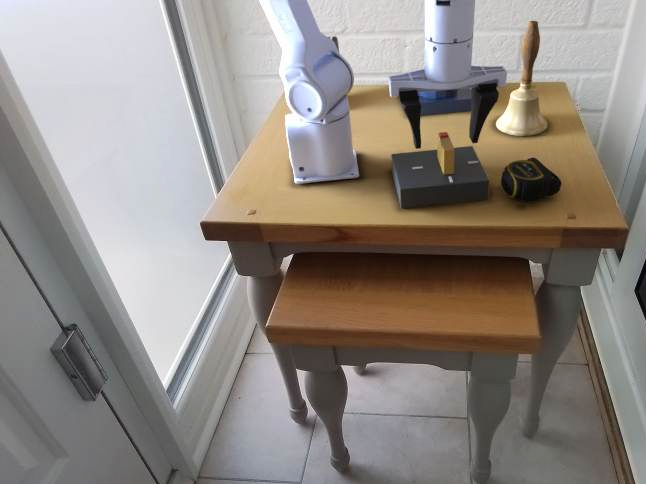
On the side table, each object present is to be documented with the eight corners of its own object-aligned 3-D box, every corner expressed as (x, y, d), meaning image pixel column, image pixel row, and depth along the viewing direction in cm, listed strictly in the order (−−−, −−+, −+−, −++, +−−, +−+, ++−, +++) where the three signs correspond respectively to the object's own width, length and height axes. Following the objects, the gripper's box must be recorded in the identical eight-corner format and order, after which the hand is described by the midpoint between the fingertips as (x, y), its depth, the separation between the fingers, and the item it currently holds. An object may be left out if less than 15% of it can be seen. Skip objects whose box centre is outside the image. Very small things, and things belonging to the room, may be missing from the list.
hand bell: (486, 121, 91) (494, 20, 80) (526, 110, 93) (539, 11, 82) (515, 141, 85) (527, 34, 74) (557, 129, 87) (575, 24, 77)
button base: (408, 116, 94) (407, 94, 91) (401, 96, 100) (400, 75, 98) (475, 110, 94) (476, 87, 92) (464, 90, 101) (465, 69, 98)
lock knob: (453, 173, 72) (454, 147, 70) (443, 174, 72) (444, 148, 70) (447, 156, 76) (447, 131, 74) (437, 157, 76) (437, 132, 74)
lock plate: (400, 208, 72) (400, 188, 70) (392, 172, 80) (391, 152, 78) (488, 199, 73) (489, 179, 71) (471, 164, 80) (472, 144, 78)
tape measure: (561, 200, 72) (565, 176, 69) (515, 211, 70) (518, 186, 68) (535, 176, 77) (538, 152, 74) (491, 186, 75) (493, 162, 73)
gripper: (500, 21, 66) (490, 124, 75) (384, 30, 66) (388, 134, 75) (516, 38, 61) (504, 148, 70) (390, 49, 60) (394, 158, 69)
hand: (445, 142), depth 72 cm, fingers open, 7 cm apart
